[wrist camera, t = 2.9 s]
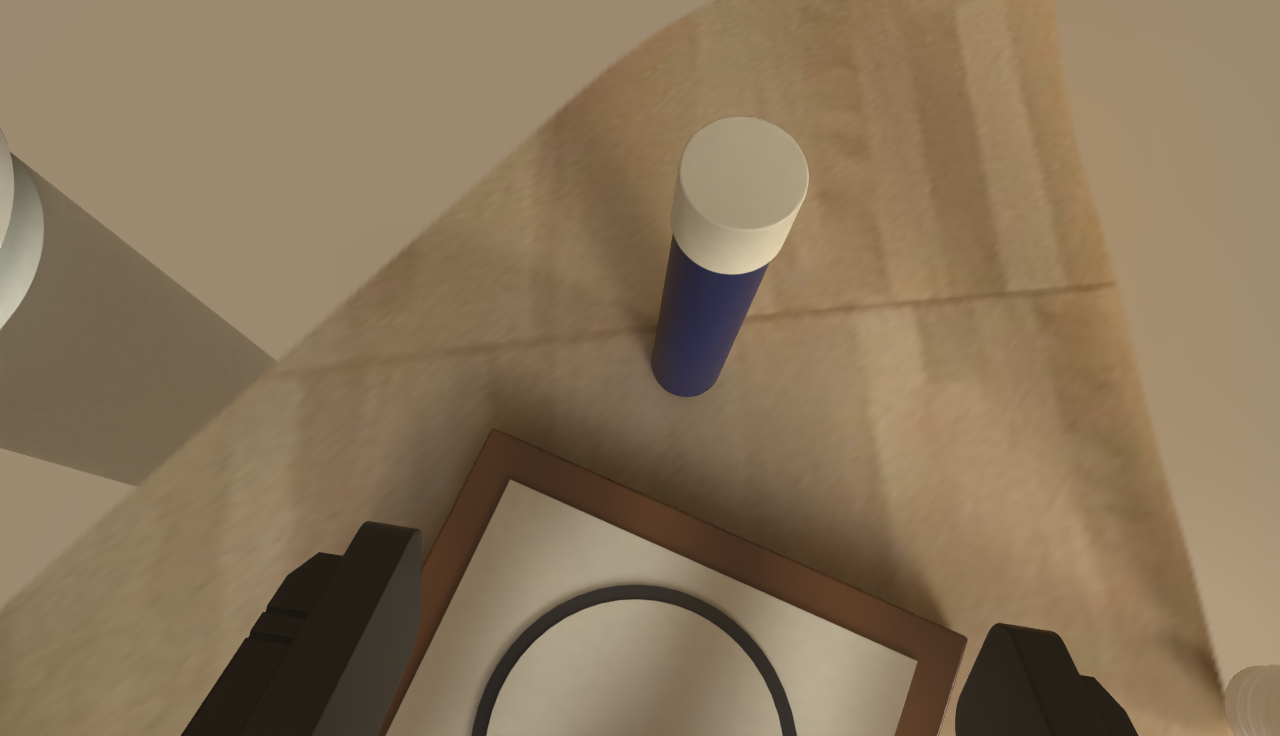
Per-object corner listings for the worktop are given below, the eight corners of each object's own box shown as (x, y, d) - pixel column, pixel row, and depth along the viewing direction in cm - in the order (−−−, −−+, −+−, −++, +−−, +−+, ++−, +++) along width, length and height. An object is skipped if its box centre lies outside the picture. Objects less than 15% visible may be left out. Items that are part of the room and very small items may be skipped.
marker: (636, 382, 27) (658, 200, 15) (666, 317, 27) (708, 96, 16) (706, 412, 26) (781, 251, 15) (734, 346, 27) (827, 143, 16)
